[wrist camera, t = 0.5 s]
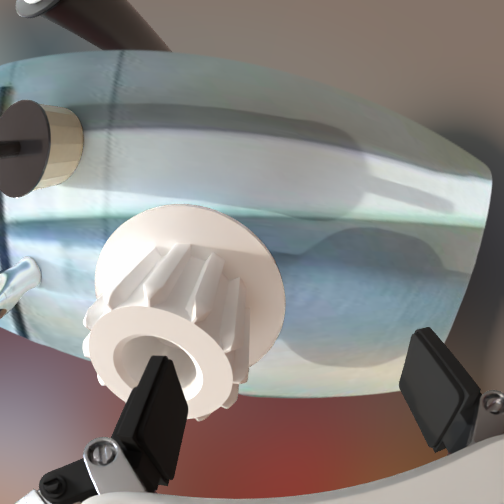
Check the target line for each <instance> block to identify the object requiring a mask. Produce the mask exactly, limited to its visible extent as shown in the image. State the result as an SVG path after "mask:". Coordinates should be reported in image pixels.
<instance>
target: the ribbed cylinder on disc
mask: <svg viewBox="0 0 504 504" xmlns="http://www.w3.org/2000/svg"><path fill="white" fill-rule="evenodd" d="M95 293H96V299H97V301H96V302H95V303H94V304H93V305H92V306H91V307H90V308H89V309H88V311H87V313H86V316H85V318H84V321H83V323H84V325H85V327H86V328H88V329H89V330H90V331H91V332H90V333H89V334H88V336H87V337H86V338H85V339H84V342H83V352H84V355H85V357H88V358H91V361H92V364H93V366H94V368H95V370H96V372H97V374H98V380H99V382H100V384H101V385H102V386H104V385H106V386H107V387H108V388H109V389H110V390H111V391H112V392H113V393H114V394H115V395H117V396H118V397H119V398H121V399H122V400H123V401H125V402H127V400H128V398H129V395H130V393H131V391H132V389H133V388H134V387H137V386H138V384H139V381H140V379H141V377H142V375H143V373H144V370H145V368H146V366H147V364H148V362H149V360H150V358H151V356H153V355H156V356H167V357H168V359H171V360H172V361H173V364H174V367H175V370H176V373H177V376H178V379H179V382H180V385H181V387H182V390H183V393H184V396H185V399H186V401H187V404H188V416H187V419H191V418H195V419H196V420H197V421H201V420H204V419H206V418H207V417H208V416H209V415H210V413H211V412H213V411H215V410H216V409H218V408H219V407H220V406H221V407H223V408H225V409H228V408H229V407H230V406H232V405H233V404H234V403H235V402H236V400H237V398H238V387H239V384H243V383H246V382H247V380H248V372H249V367H251V366H252V365H253V364H255V363H256V362H258V361H259V360H260V359H261V358H262V357H263V356H264V355H265V354H266V353H267V352H268V351H269V350H270V348H271V347H272V346H273V344H274V343H275V341H276V339H277V337H278V335H279V333H280V331H281V328H282V325H283V321H284V316H285V292H284V287H283V282H282V278H281V275H280V272H279V269H278V267H277V264H276V262H275V260H274V258H273V257H272V255H271V254H270V252H269V250H268V249H267V248H266V246H265V245H264V244H263V243H262V241H261V240H260V239H259V238H258V237H257V236H256V235H255V234H254V233H253V232H252V231H250V230H249V229H248V228H247V227H246V226H244V225H243V224H241V223H240V222H238V221H237V220H235V219H233V218H232V217H230V216H228V215H226V214H224V213H221V212H219V211H216V210H213V209H210V208H207V207H202V206H197V205H190V204H171V205H164V206H159V207H155V208H152V209H149V210H146V211H144V212H142V213H140V214H138V215H136V216H134V217H132V218H131V219H129V220H128V221H126V222H125V223H123V224H122V225H121V226H120V227H119V228H118V229H117V230H116V231H115V232H114V233H113V234H112V235H111V236H110V238H109V239H108V240H107V242H106V244H105V245H104V247H103V249H102V251H101V253H100V256H99V259H98V262H97V266H96V272H95Z"/></svg>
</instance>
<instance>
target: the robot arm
mask: <svg viewBox="0 0 504 504" xmlns="http://www.w3.org/2000/svg"><path fill="white" fill-rule="evenodd" d="M24 1H25V2H27V3H29V4H33V3H37V2H39V1H41V0H24ZM399 387H400V390H401V392H402V394H403V396H404V398H405V400H406V402H407V404H408V406H409V408H410V410H411V412H412V414H413V415H414V417H415V420H416V421H417V423H418V426H419V427H420V429H421V432H422V434H423V436H424V438H425V440H426V442H427V444H428V446H429V447H431V448H433V450H434V452H435V453H436V452H438V451H441V450H443V449H445V448H447V450H448V454H447V456H446V457H444V458H441V459H439V460H436V461H434V462H431V463H428V464H426V465H423V466H421V467H418V468H415V469H412V470H410V471H407V472H404V473H401V474H397V475H394V476H391V477H388V478H385V479H381V480H377V481H374V482H370V483H366V484H362V485H357V486H353V487H348V488H344V489H339V490H333V491H328V492H322V493H315V494H308V495H300V496H291V497H279V498H264V499H214V498H195V497H184V496H174V495H164V494H157V493H156V490H157V488H158V485H164V486H168V483H169V480H173V478H174V475H175V470H176V466H177V461H178V456H179V452H180V447H181V443H182V438H183V433H184V429H185V425H186V420H187V416H188V404H187V401H186V399H185V396H184V393H183V390H182V387H181V385H180V382H179V379H178V376H177V373H176V370H175V367H174V364H173V361H172V360H171V359H168V357H167V356H156V355H153V356H151V358H150V360H149V362H148V364H147V366H146V368H145V370H144V373H143V375H142V377H141V379H140V381H139V384H138V386H137V387H134V388H133V389H132V391H131V393H130V395H129V398H128V400H127V402H126V404H125V407H124V409H123V411H122V413H121V416H120V418H119V420H118V423H117V425H116V427H115V429H114V432H113V434H112V436H111V438H108V437H100V438H96V439H94V440H92V441H90V442H89V443H88V444H87V445H86V447H85V449H84V453H83V456H84V458H82V459H80V460H78V461H76V462H73V463H71V464H68V465H66V466H64V467H61V468H58V469H56V470H53V471H51V472H48V473H47V474H45V475H44V476H43V477H42V478H41V480H40V483H39V490H38V491H36V490H35V489H33V490H32V491H31V492H29V493H28V494H27V495H25V496H24V497H23V498H21V499H20V500H19V501H17V502H16V503H14V504H504V393H502V392H501V391H497V390H489V391H487V392H485V393H484V394H483V395H482V394H481V393H480V390H481V389H480V388H479V387H478V385H477V384H476V383H475V382H474V380H473V379H472V378H471V376H470V375H469V374H468V373H467V371H466V370H465V369H464V368H463V366H462V365H461V364H460V362H459V361H458V360H457V359H456V358H455V357H454V355H453V354H452V353H451V352H450V350H449V349H448V348H447V347H446V345H445V344H444V343H443V342H442V341H441V340H440V338H439V337H438V336H437V335H436V334H435V333H434V331H433V330H432V329H431V328H430V327H426V328H422V329H417V330H416V331H415V333H414V334H412V336H411V340H410V344H409V348H408V352H407V356H406V360H405V364H404V367H403V371H402V374H401V378H400V381H399Z"/></svg>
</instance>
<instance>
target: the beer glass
mask: <svg viewBox="0 0 504 504" xmlns="http://www.w3.org/2000/svg"><path fill="white" fill-rule="evenodd" d="M40 282H41V272H40V269H39V267H38V265H37V263H36V262H35V261H34V260H33V259H32V258H30V257H28V256H25V257H23V258H21V259H20V260H19V261H18V262H17V263H16V264H15V265H14V266H12V267H9V268H7V269H3V270H0V319H1V318H2V317H4V316H5V315H6V314H7V313H8V312H9V311H10V310H11V309H12V308H13V307H14V306H15V304H16V303H17V302H18V301H19V299H20V298H21V297H22V296H23V295H24V294H25V293H26V292H27V291H29V290H31V289H33V288H35V287H37V286H38V285H39V284H40Z"/></svg>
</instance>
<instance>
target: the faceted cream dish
mask: <svg viewBox="0 0 504 504" xmlns="http://www.w3.org/2000/svg"><path fill="white" fill-rule="evenodd" d="M40 106H41V107H42V108H43V109H44V111H45V112H46V115H47V117H48V120H49V124H50V131H51V148H50V155H49V159H48V163H47V167H46V169H45V172H44V174H43V176H42V178H41V180H40V182H39V183H38V185H37V186H36V187H35V188H34V189H33V190H32V191H35V190H38V189H42V188H46V187H50V186H54V185H58V184H61V183H62V182H64V181H65V180H67V179H68V178H69V177H70V176H71V175H72V174H73V172H74V171H75V169H76V168H77V166H78V163H79V161H80V158H81V155H82V150H83V130H82V126H81V123H80V121H79V119H78V117H77V116H76V115H75V114H74V113H73V112H72V111H70V110H69V109H67V108H63V107H57V106H51V105H44V104H40Z"/></svg>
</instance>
